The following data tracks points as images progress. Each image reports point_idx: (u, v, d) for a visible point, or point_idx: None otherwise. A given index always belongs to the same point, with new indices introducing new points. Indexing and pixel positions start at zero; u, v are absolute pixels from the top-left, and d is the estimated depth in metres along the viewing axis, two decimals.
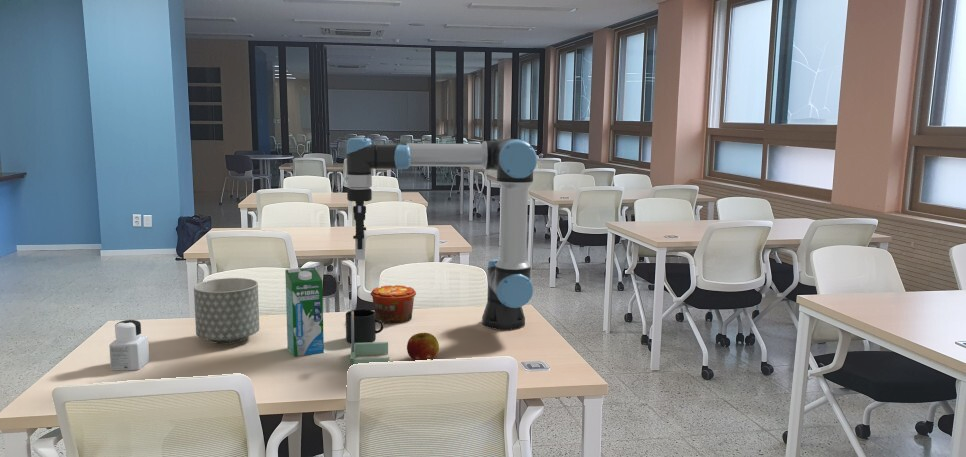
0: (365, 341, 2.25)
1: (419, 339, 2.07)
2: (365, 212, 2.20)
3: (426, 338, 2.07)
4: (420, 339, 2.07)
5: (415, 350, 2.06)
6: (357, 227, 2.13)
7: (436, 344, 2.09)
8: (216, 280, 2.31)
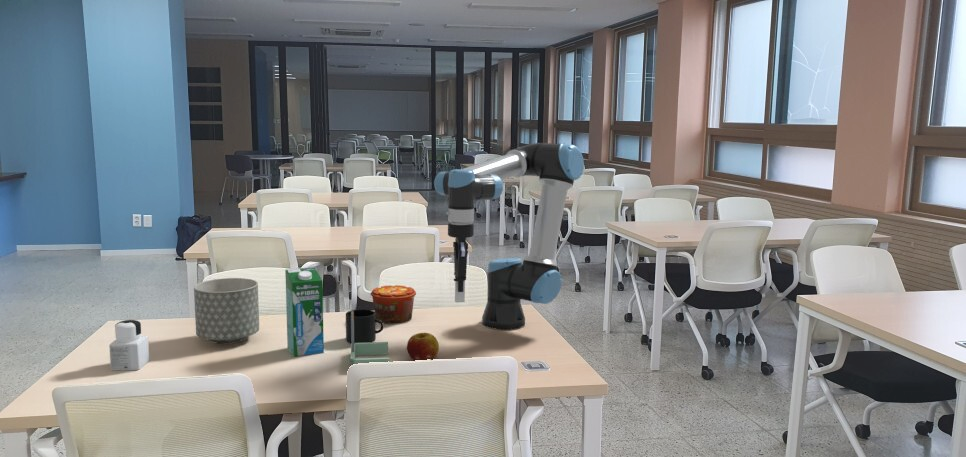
0: (365, 341, 2.25)
1: (419, 339, 2.07)
2: None
3: (426, 338, 2.07)
4: (420, 339, 2.07)
5: (415, 350, 2.06)
6: (459, 271, 2.04)
7: (436, 344, 2.09)
8: (216, 280, 2.31)
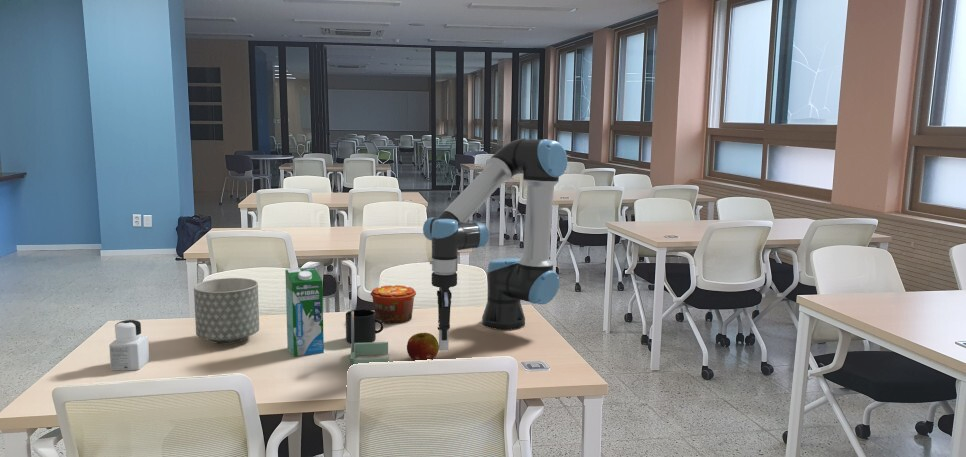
0: (365, 341, 2.25)
1: (419, 339, 2.07)
2: (450, 298, 2.08)
3: (426, 338, 2.07)
4: (420, 339, 2.07)
5: (415, 350, 2.06)
6: (443, 321, 2.06)
7: (436, 344, 2.09)
8: (216, 280, 2.31)
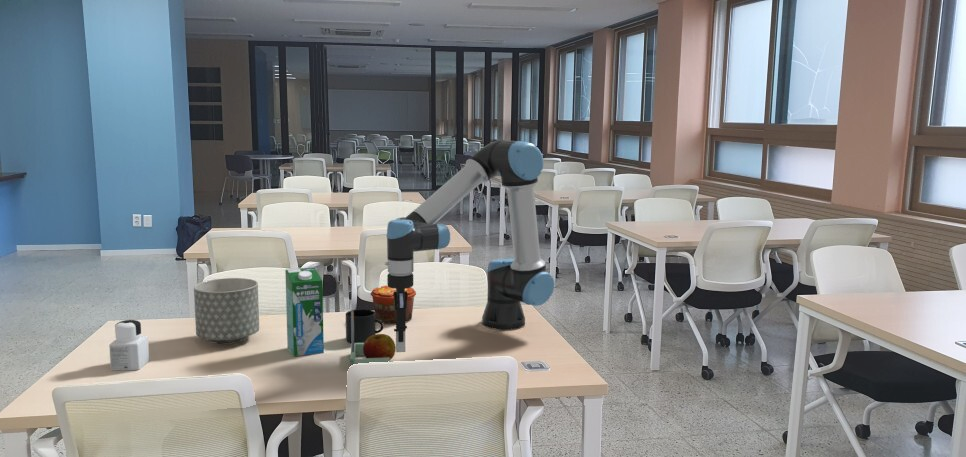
0: None
1: (375, 340, 2.05)
2: (406, 299, 2.06)
3: (382, 339, 2.05)
4: (376, 340, 2.05)
5: (371, 351, 2.04)
6: (399, 322, 2.04)
7: (392, 345, 2.07)
8: (216, 280, 2.31)
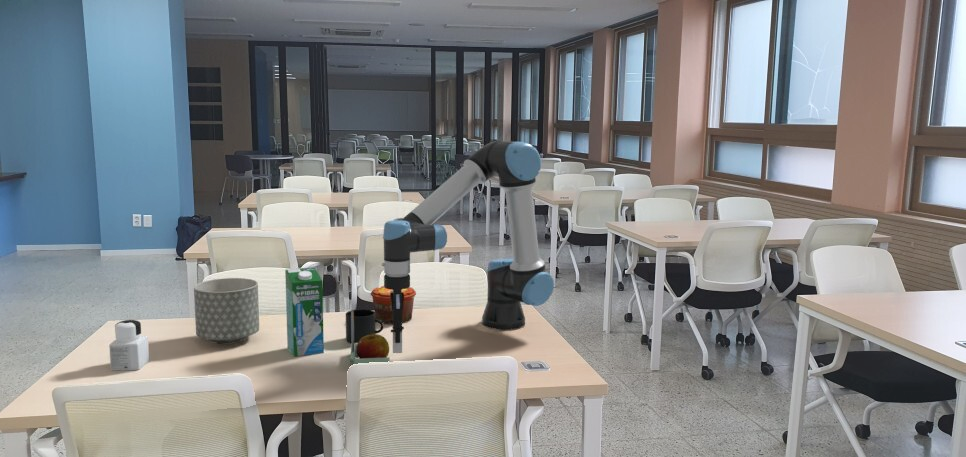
0: None
1: (368, 341, 2.05)
2: None
3: (376, 340, 2.05)
4: (369, 341, 2.05)
5: (364, 352, 2.04)
6: (395, 323, 2.04)
7: (386, 346, 2.06)
8: (216, 280, 2.31)
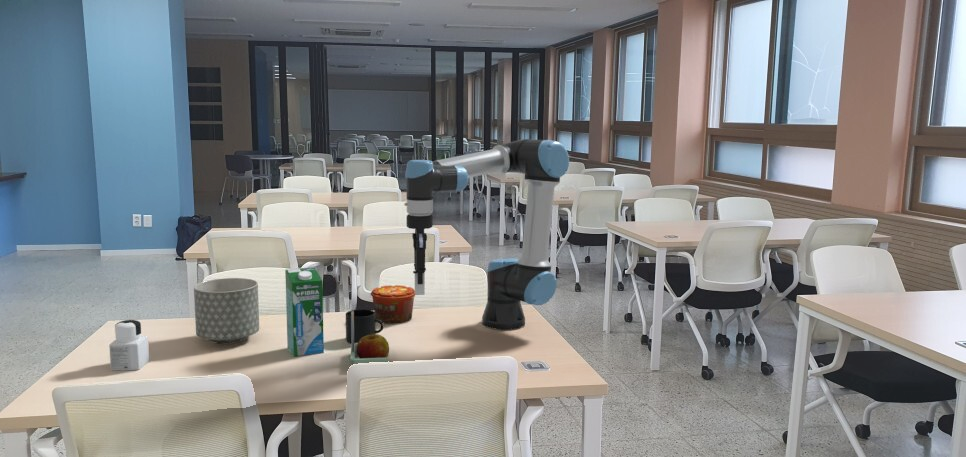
0: None
1: (368, 341, 2.05)
2: (426, 240, 2.04)
3: (376, 340, 2.05)
4: (369, 341, 2.05)
5: (364, 352, 2.04)
6: (418, 263, 2.01)
7: (386, 346, 2.06)
8: (216, 280, 2.31)
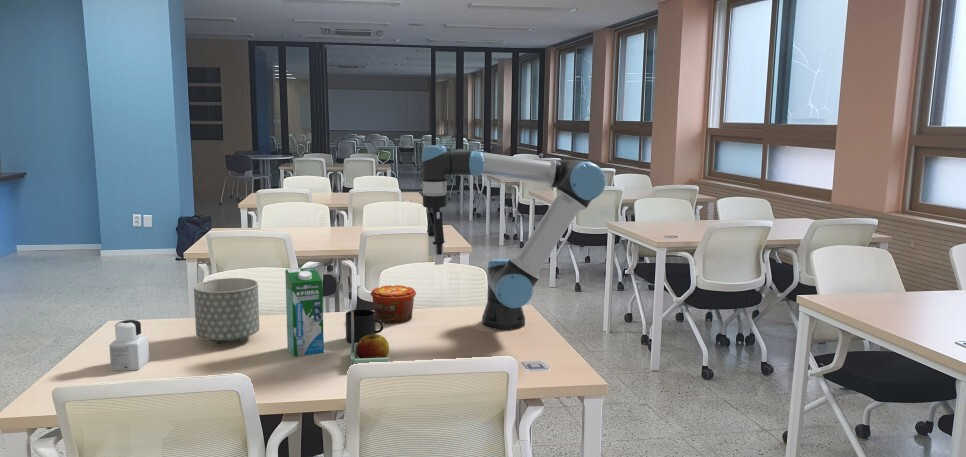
0: None
1: (368, 341, 2.05)
2: None
3: (376, 340, 2.05)
4: (369, 341, 2.05)
5: (364, 352, 2.04)
6: (437, 233, 2.18)
7: (386, 346, 2.06)
8: (216, 280, 2.31)
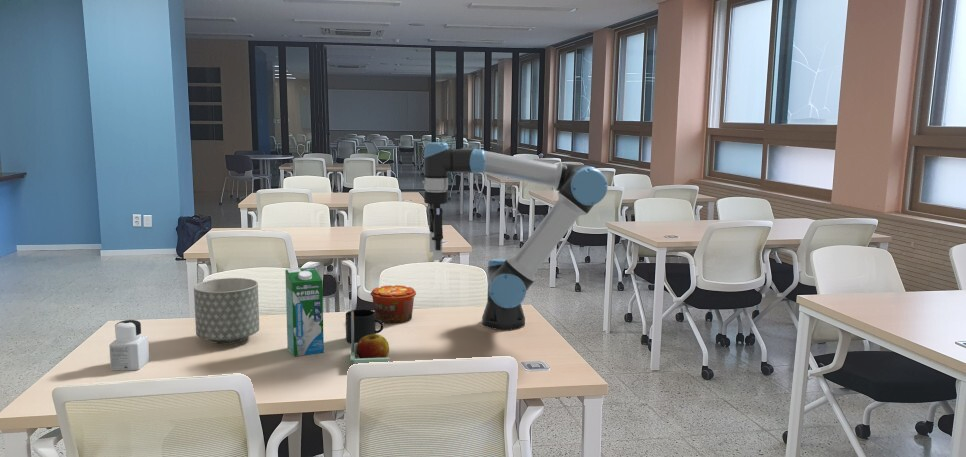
0: None
1: (369, 341, 2.05)
2: None
3: (376, 340, 2.05)
4: (370, 341, 2.05)
5: (364, 352, 2.04)
6: (436, 229, 2.21)
7: (386, 346, 2.06)
8: (216, 280, 2.31)
